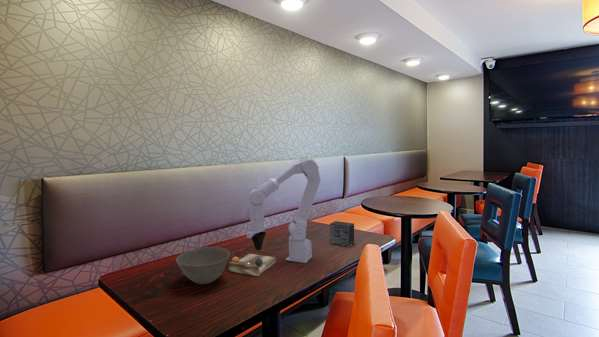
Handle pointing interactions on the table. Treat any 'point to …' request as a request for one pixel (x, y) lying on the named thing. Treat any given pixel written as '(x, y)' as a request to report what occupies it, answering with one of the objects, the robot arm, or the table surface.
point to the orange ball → (235, 259)
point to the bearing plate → (252, 269)
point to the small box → (342, 233)
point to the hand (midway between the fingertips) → (258, 249)
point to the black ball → (258, 262)
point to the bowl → (203, 263)
